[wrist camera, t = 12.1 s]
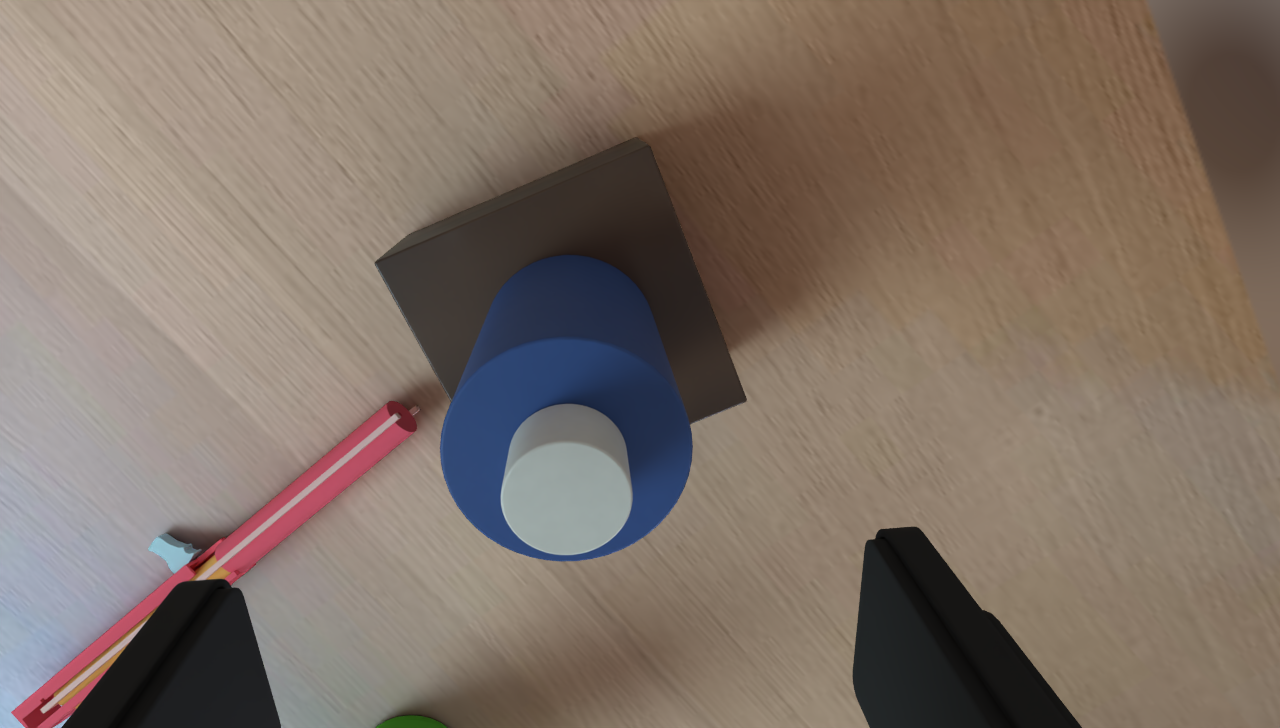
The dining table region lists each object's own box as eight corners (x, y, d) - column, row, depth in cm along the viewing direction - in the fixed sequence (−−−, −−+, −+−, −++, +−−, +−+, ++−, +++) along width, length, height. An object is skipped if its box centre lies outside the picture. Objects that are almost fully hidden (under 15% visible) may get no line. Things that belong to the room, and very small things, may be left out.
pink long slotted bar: (24, 659, 35) (85, 734, 35) (-21, 683, 33) (44, 763, 33) (378, 356, 31) (446, 441, 31) (353, 361, 29) (425, 452, 29)
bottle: (476, 259, 24) (401, 378, 14) (653, 249, 25) (706, 359, 14) (494, 420, 26) (442, 626, 16) (657, 409, 27) (707, 604, 17)
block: (406, 235, 29) (372, 262, 24) (637, 136, 28) (649, 144, 24) (514, 441, 32) (504, 499, 28) (722, 357, 32) (748, 402, 27)
